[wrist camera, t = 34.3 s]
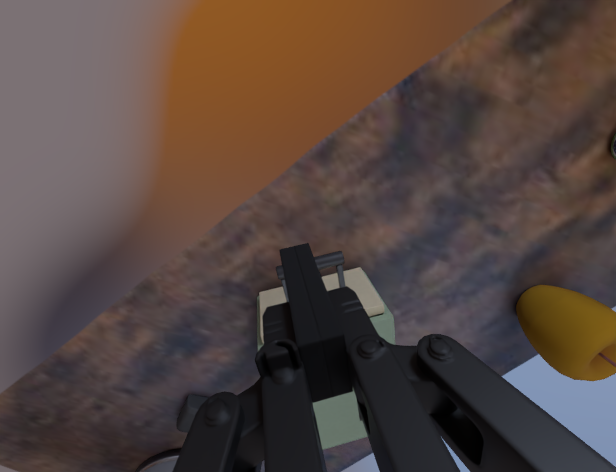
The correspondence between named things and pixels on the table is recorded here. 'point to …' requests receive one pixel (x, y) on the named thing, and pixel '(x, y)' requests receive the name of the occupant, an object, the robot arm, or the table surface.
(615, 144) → the beverage can
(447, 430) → the robot arm
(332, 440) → the cabinet
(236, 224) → the table surface
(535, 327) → the apple
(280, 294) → the drawer
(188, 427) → the usb drive
